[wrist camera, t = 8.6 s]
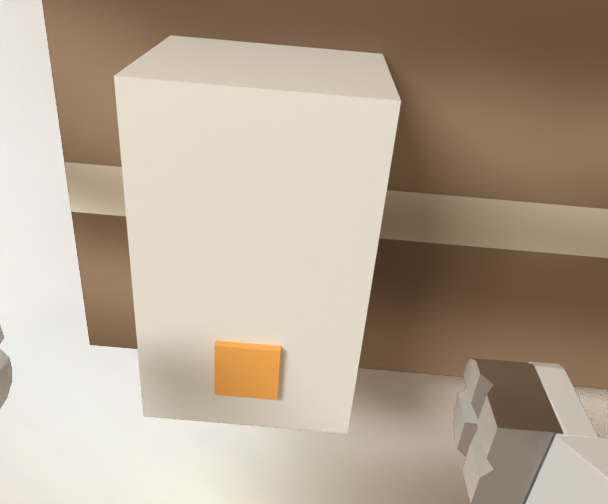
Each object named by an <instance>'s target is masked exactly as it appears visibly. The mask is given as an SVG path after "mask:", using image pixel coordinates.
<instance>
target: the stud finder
mask: <svg viewBox="0 0 608 504" xmlns="http://www.w3.org/2000/svg"><path fill="white" fill-rule="evenodd" d="M114 84H115V95H116V107H117V118H118V130H119V141H120V153H121V164H122V175H123V187H124V198H125V210H126V221H127V233H128V244H129V255H130V267H131V278H132V290H133V301H134V313H135V324H136V336H137V347H138V358H139V370H140V381H141V393H142V404H143V416H146V417H157V418H169V419H181V420H193V421H204V422H216V423H228V424H240V425H251V426H263V427H275V428H287V429H298V430H310V431H322V432H334V433H345V434H348V428H349V422H350V416H351V409H352V403H353V397H354V391H355V384H356V378H357V372H358V366H359V360H360V353H361V347H362V341H363V335H364V329H365V322H366V316H367V310H368V304H369V297H370V291H371V285H372V279H373V273H374V266H375V260H376V254H377V248H378V241H379V235H380V229H381V223H382V217H383V210H384V204H385V198H386V192H387V185H388V179H389V173H390V167H391V161H392V154H393V148H394V142H395V136H396V130H397V123H398V117H399V111H400V105H401V99H400V97H399V94H398V92H397V89H396V87H395V84H394V81H393V79H392V76H391V74H390V71H389V69H388V66H387V63H386V61H385V58H384V56H383V54H379V53H368V52H356V51H345V50H333V49H322V48H310V47H299V46H287V45H276V44H264V43H253V42H241V41H230V40H219V39H207V38H196V37H184V36H173V35H170V36H169V37H168V38H166V39H165V40H163V41H162V42H161V43H159V44H158V45H156V46H155V47H154V48H152V49H151V50H149V51H148V52H147V53H145V54H144V55H142V56H141V57H140V58H138V59H137V60H135V61H134V62H133V63H131V64H130V65H128V66H127V67H126V68H124V69H123V70H121V71H120V72H119V73H117V74H116V75H114Z"/></svg>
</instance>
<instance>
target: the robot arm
mask: <svg viewBox="0 0 608 504" xmlns="http://www.w3.org/2000/svg"><path fill="white" fill-rule="evenodd" d="M3 339H4V335H3V332H2V329H1V326H0V343H1V342H2V340H3ZM463 376H464V379H465V383H466V387H467V388H465V389H464V390H463V391H461V392H460V393H459V394H458V396H457V400H456V404H455V408H454V422H453V425H454V436H455V441H456V445H457V449H458V450H459V451H460V452H461V453H462V454H463V455H464V456H465V457H466V460H465V463H464V466H463V469H462V472H463V476H464V480H465V484H466V488H467V492H468V497H469V501H470V504H608V438H599V436H598V434H597V432H596V430H595V428H594V426H593V424H592V422H591V420H590V418H589V416H588V414H587V413H586V411H585V409H584V407H583V405H582V403H581V401H580V399H579V397H578V395H577V393H576V391H575V389H574V387H573V385H572V383H571V381H570V379H569V377H568V375H567V373H566V371H565V369H564V368H563V367H562V366H561V365H559V364H555V363H539V362H529V363H527V362H516V361H502V360H489V359H475V358H471V359H470V360H469V362H468V363H467V365H466V368H465V372H464V375H463ZM11 383H12V367H11V362H10V358H9V357H8V356H7V355H6V354H5V353H4V352H3V351H2V350H1V349H0V408H1V407H2V405H3V404H4V402H5V400H6V399H7V396H8V393H9V390H10V386H11Z"/></svg>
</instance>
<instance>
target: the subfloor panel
mask: <svg viewBox="0 0 608 504" xmlns="http://www.w3.org/2000/svg"><path fill="white" fill-rule="evenodd" d="M42 5H43V12H44V19H45V26H46V33H47V40H48V48H49V55H50V62H51V69H52V76H53V83H54V91H55V98H56V105H57V112H58V119H59V127H60V134H61V141H62V148H63V155H64V165H65V172H66V179H67V186H68V193H69V200H70V208H71V213H72V220H73V227H74V234H75V241H76V248H77V256H78V263H79V270H80V277H81V284H82V292H83V299H84V306H85V313H86V320H87V327H88V335H89V342H90V345H98V346H109V347H121V348H132V349H138V347H137V336H136V324H135V313H134V301H133V290H132V278H131V267H130V255H129V244H128V233H127V221H126V210H125V198H124V187H123V175H122V164H121V153H120V141H119V130H118V118H117V107H116V95H115V84H114V75H116V74H117V73H119V72H120V71H121V70H123V69H124V68H126V67H127V66H128V65H130V64H131V63H133V62H134V61H135V60H137V59H138V58H140V57H141V56H142V55H144V54H145V53H147V52H148V51H149V50H151V49H152V48H154V47H155V46H156V45H158V44H159V43H161V42H162V41H163V40H165V39H166V38H168V37H169V36H170V35H173V36H184V37H196V38H207V39H219V40H230V41H241V42H253V43H264V44H276V45H287V46H299V47H310V48H322V49H333V50H345V51H356V52H368V53H379V54H383V56H384V58H385V61H386V63H387V66H388V69H389V71H390V74H391V76H392V79H393V81H394V84H395V87H396V89H397V92H398V94H399V97H400V99H401V105H400V111H399V117H398V123H397V130H396V136H395V142H394V148H393V154H392V161H391V167H390V173H389V179H388V185H387V192H386V198H385V204H384V210H383V217H382V223H381V229H380V235H379V241H378V248H377V254H376V260H375V266H374V273H373V279H372V285H371V291H370V297H369V304H368V310H367V316H366V322H365V329H364V335H363V341H362V347H361V353H360V360H359V366H358V368H366V369H377V370H389V371H401V372H412V373H424V374H435V375H447V376H459V377H464V376H463V375H464V372H465V368H466V365H467V363H468V362H469V360H470V359H471V358H475V359H489V360H502V361H516V362H527V363H529V362H539V363H555V364H559V365H561V366H562V367H563V368H564V369H565V371H566V373H567V375H568V377H569V379H570V381H571V383H572V385H573V386H575V387H587V388H599V389H608V0H42Z"/></svg>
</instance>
